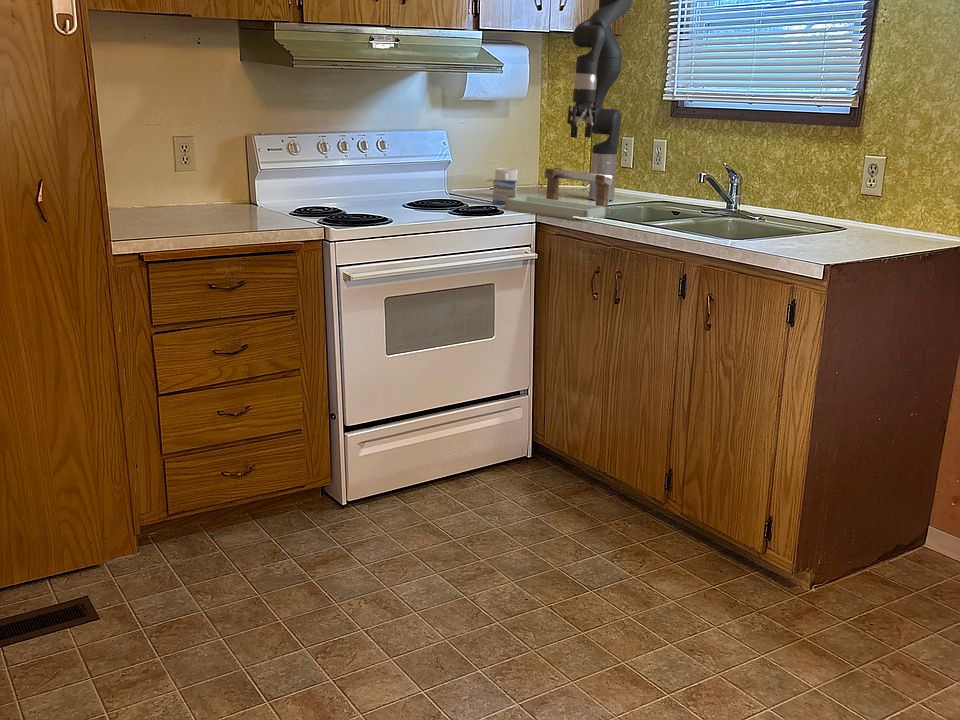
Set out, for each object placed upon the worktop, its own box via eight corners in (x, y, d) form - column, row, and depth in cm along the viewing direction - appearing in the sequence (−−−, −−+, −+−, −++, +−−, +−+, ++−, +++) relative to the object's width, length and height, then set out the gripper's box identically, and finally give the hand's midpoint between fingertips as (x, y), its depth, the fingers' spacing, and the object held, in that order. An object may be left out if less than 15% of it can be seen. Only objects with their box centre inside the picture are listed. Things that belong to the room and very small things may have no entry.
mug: (515, 200, 338) (517, 171, 335) (493, 199, 339) (494, 170, 336) (516, 196, 350) (518, 168, 347) (494, 195, 350) (496, 167, 347)
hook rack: (551, 204, 332) (553, 167, 328) (610, 212, 318) (613, 174, 314) (542, 206, 327) (544, 168, 323) (601, 214, 314) (605, 175, 310)
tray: (525, 205, 326) (526, 195, 325) (605, 217, 308) (606, 206, 307) (504, 209, 316) (505, 198, 315) (585, 221, 298) (586, 210, 297)
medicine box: (492, 204, 325) (493, 179, 323) (493, 203, 330) (494, 178, 327) (514, 206, 325) (515, 181, 322) (515, 204, 329) (516, 179, 326)
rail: (548, 176, 328) (549, 167, 327) (613, 184, 314) (614, 175, 313) (544, 176, 326) (544, 168, 325) (609, 184, 311) (609, 175, 310)
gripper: (587, 88, 319) (583, 136, 324) (563, 86, 309) (559, 136, 313) (605, 89, 315) (601, 138, 319) (582, 87, 304) (578, 138, 309)
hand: (580, 137), depth 316 cm, fingers open, 8 cm apart
